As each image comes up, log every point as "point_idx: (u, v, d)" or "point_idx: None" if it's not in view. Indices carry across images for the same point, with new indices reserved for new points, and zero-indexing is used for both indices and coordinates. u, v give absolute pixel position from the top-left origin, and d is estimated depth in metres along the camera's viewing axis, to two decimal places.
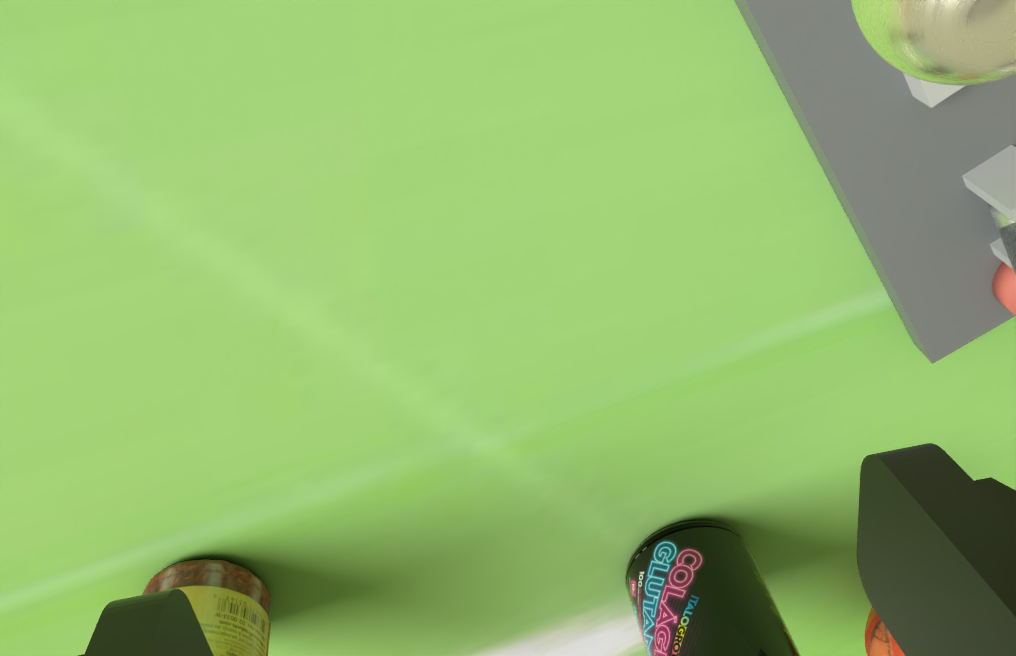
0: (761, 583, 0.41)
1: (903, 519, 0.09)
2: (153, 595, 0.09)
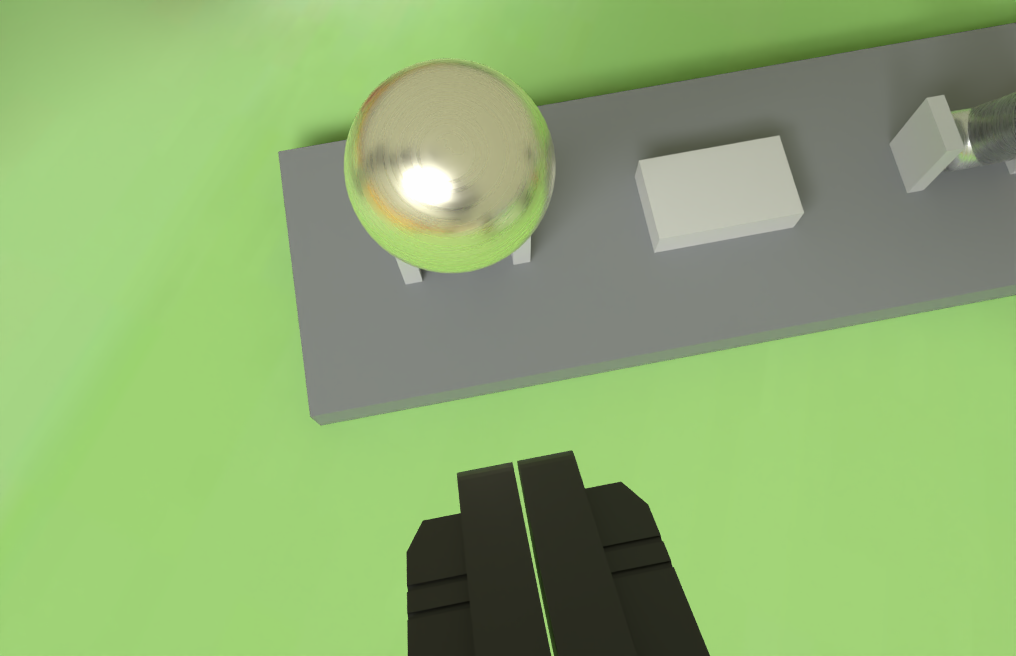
0: None
1: (528, 520, 0.10)
2: (497, 466, 0.10)
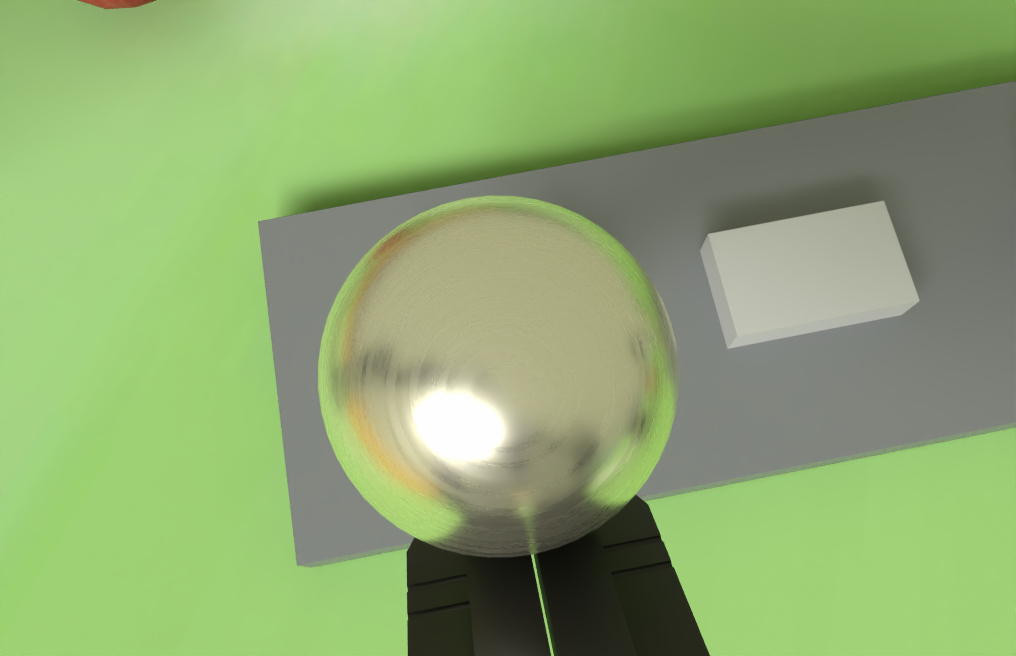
0: None
1: None
2: None
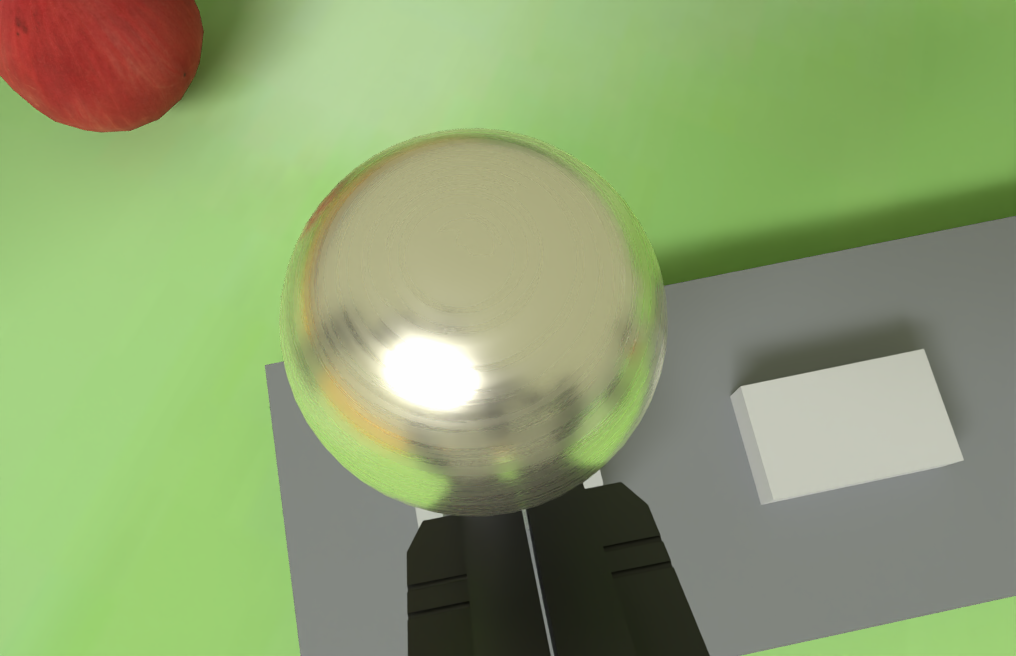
0: None
1: (529, 520, 0.10)
2: None
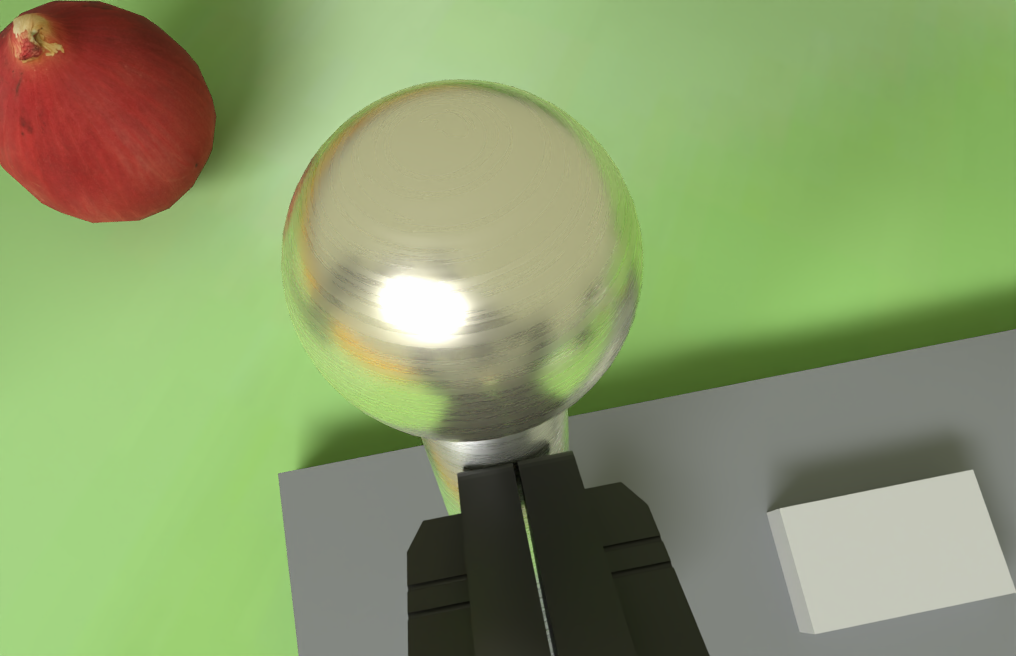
0: None
1: (528, 519, 0.10)
2: (497, 466, 0.10)
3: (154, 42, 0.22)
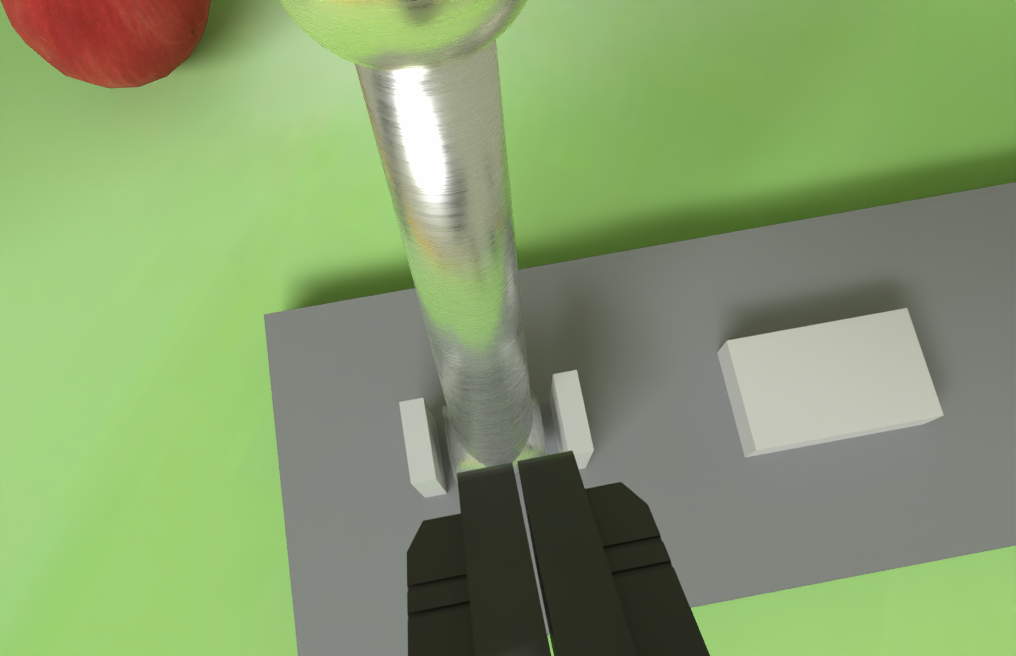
0: None
1: (528, 520, 0.10)
2: (497, 466, 0.10)
3: None
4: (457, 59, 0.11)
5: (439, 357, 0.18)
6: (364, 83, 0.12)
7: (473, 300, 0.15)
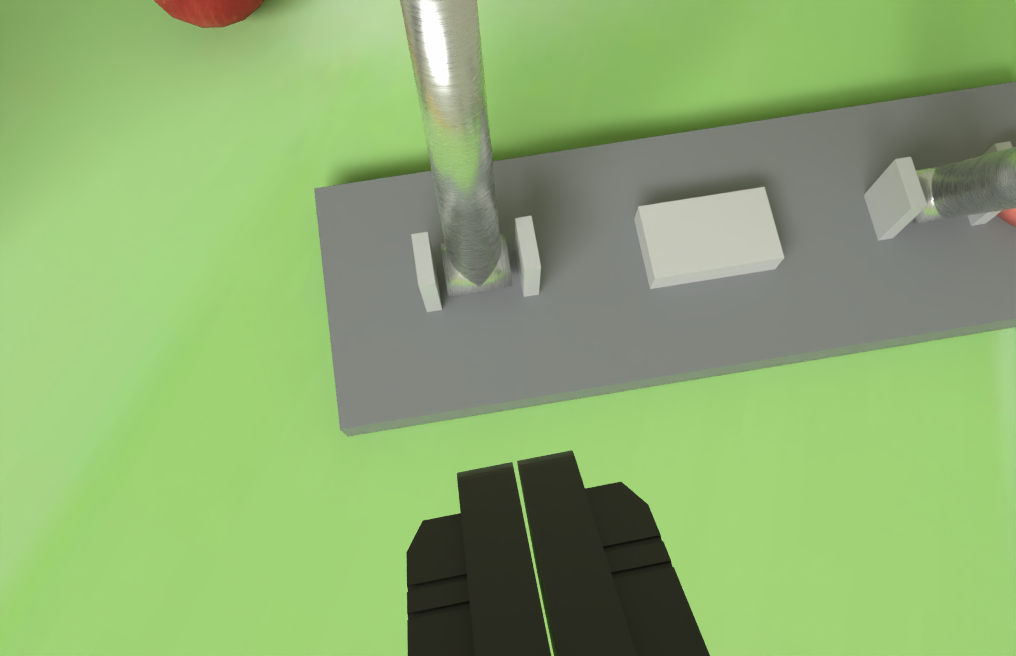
0: None
1: (528, 519, 0.10)
2: (497, 466, 0.10)
3: None
4: None
5: (439, 187, 0.28)
6: None
7: (461, 139, 0.26)
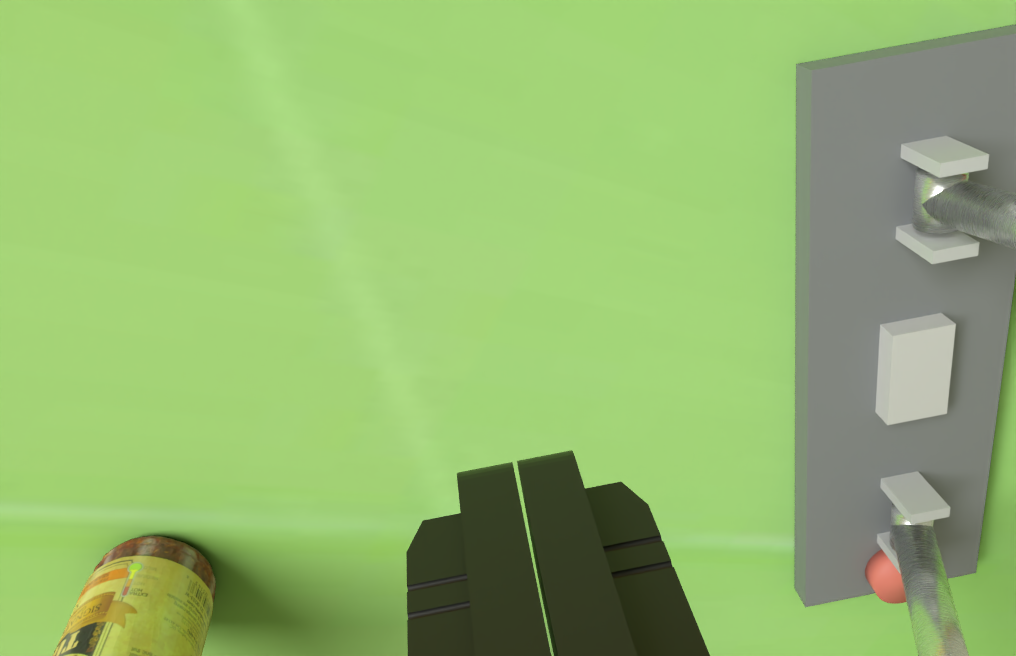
0: None
1: (528, 520, 0.10)
2: (497, 466, 0.10)
3: None
4: None
5: None
6: None
7: None
